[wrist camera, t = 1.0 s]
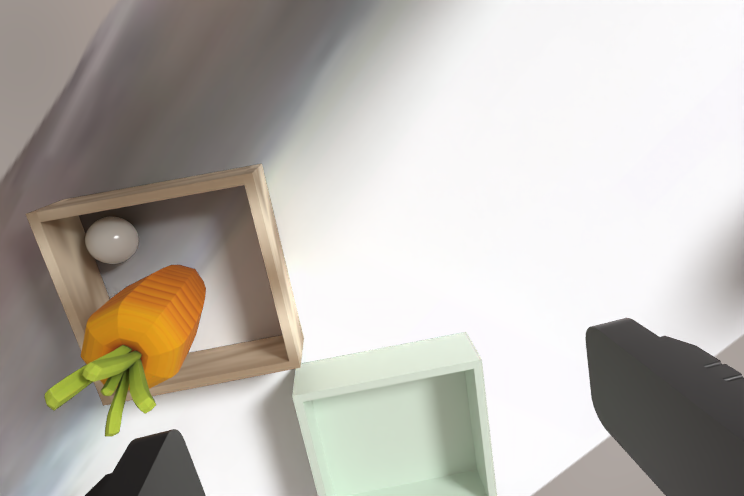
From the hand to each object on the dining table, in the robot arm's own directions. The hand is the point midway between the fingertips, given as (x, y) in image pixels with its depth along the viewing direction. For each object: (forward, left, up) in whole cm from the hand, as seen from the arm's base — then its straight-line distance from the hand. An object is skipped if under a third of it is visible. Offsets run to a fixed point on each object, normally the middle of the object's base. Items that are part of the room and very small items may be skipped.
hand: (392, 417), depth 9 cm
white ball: (0, -15, -24) cm, 29 cm away
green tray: (+19, 0, -24) cm, 31 cm away
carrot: (+4, -12, -25) cm, 28 cm away
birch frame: (+4, -12, -24) cm, 27 cm away
